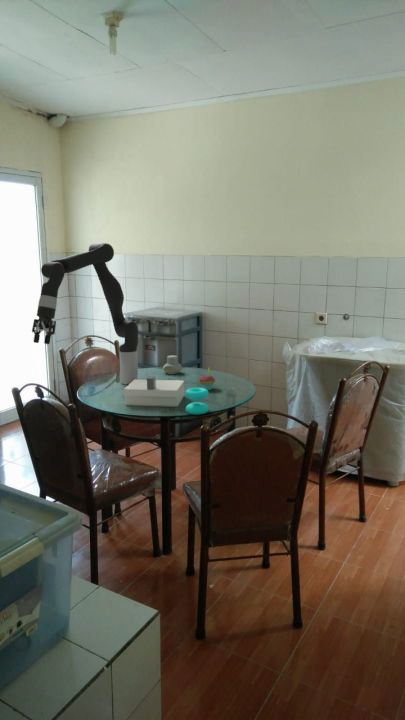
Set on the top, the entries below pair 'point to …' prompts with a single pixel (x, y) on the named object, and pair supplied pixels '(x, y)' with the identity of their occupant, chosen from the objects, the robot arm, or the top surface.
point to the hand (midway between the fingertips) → (41, 343)
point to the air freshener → (172, 365)
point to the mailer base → (156, 400)
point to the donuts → (197, 407)
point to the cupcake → (206, 381)
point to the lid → (153, 388)
